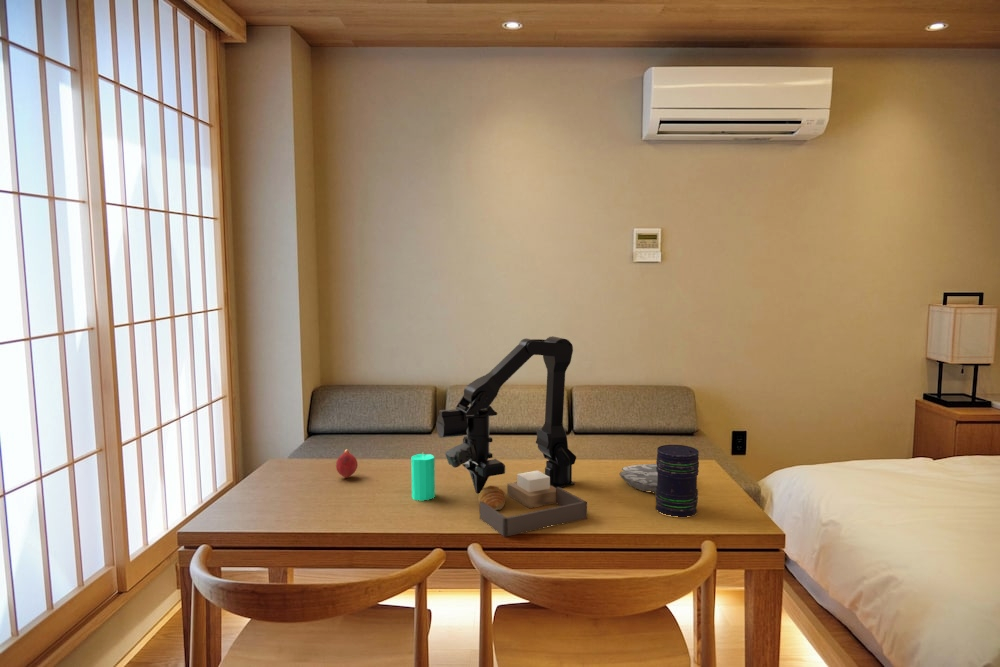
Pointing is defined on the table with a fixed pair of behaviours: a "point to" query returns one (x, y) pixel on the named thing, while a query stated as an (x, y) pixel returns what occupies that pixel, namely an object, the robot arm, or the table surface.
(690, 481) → the storage jar
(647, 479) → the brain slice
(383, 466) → the table surface
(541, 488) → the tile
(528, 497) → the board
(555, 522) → the frame
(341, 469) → the onion
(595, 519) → the table surface
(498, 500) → the pastry
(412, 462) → the candle
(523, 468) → the table surface
